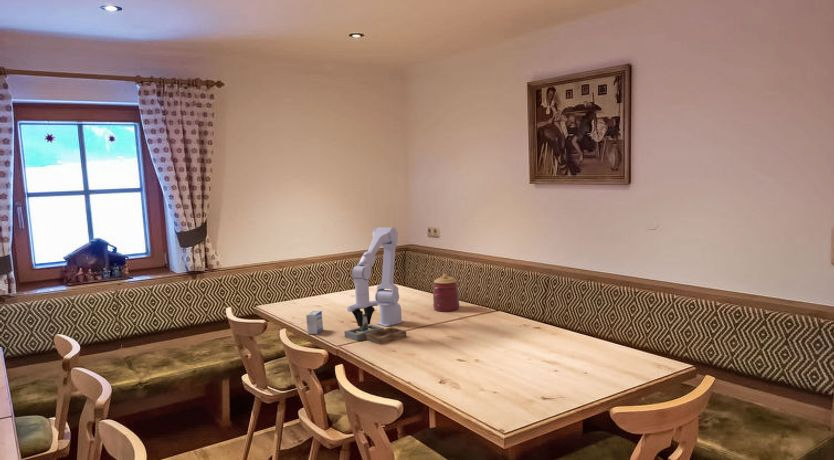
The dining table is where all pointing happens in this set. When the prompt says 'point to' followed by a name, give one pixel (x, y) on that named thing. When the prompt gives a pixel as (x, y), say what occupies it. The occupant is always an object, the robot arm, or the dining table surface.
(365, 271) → the robot arm
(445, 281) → the canister
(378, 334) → the shallow wooden tray
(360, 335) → the grey tray with pegs
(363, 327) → the cell
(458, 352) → the dining table surface
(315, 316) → the medicine box
